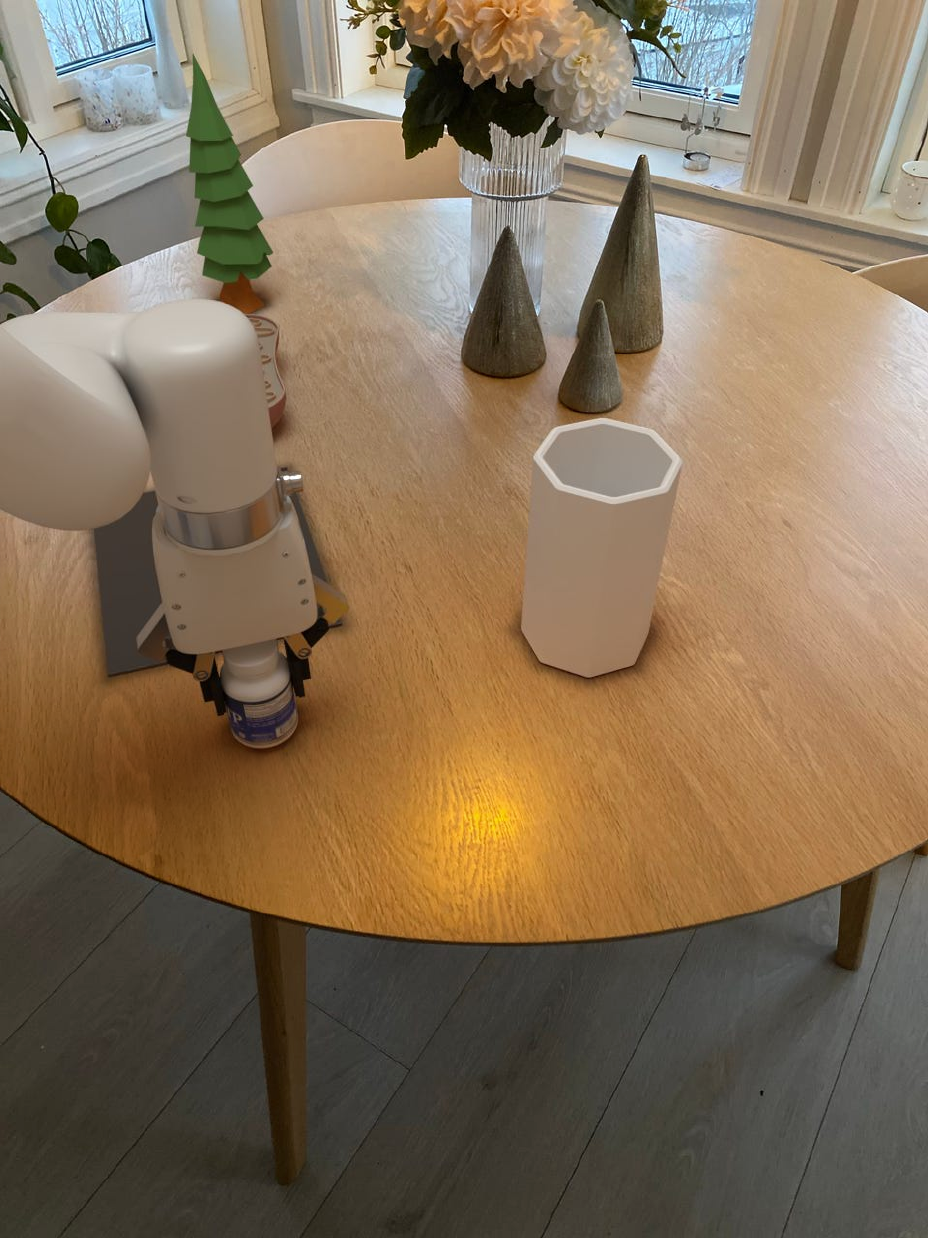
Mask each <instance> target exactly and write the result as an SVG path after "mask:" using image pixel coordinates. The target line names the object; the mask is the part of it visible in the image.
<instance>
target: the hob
mask: <svg viewBox="0 0 928 1238" xmlns="http://www.w3.org/2000/svg"><path fill="white" fill-rule="evenodd" d="M280 468H281V471H288V473H289V472H290V471H289V469H288V467H287V466H285V467H280ZM289 497H290V499H291V501H292V504H293V506H294V508H295V511H296V514H297V517H298V520H299V524H300V528H301V531H302V535H303V538H304V542H305V546H306V551H307V555H308V559H309V564H310V569H311V573H312V574H313V575H315V576H316V577H318V578H320V579H321V580H323V581H324V582H326V583H327V584H329V581H328V579H327V576H326V573H325V570H324V568H323V564H322V562H321V559H320V555H319V553H318V550H317V548H316V545H315V542H314V539H313V536H312V534H311V531H310V527H309V525H308V523H307V520H306V517H305V513H304V510H303V508H302V506H301V502H300V500H299V497H298V494H297V492H295V493H292V495H290V496H289ZM159 511H160V509H159V505H158V501H157V497H156V493H155V490H150V491H146V492H145V491H144V492H143V494H142V496H141V498H140V499H139V501H138V502H137V503H136V504H135V506H134V507H133V508H132V509H131V510H130V511H129V512H128V513H126V514H125V515H124V516H123V517H121V518H120V519H118V520H116V521H114V522H112V523H110V524H108V525H105V526H102V527H98V528H95V529H93V537H94V549H95V557H96V568H97V578H98V589H99V590H98V591H99V600H100V601H99V602H100V610H101V611H100V612H101V621H102V631H103V640H104V641H103V643H104V652H105V660H106V661H105V662H106V671H107V677H114V676H118V675H123V674H128V673H132V672H137V671H140V670H141V671H142V670H146V669H149V668H155V667H159V666H163V665H169V664H168V663H167V661H165V660H161V661H160V660H157V659H154V658H151V657H148V656H144V655H141V654H139V652H138V647H137V639H136V638H137V636H138V634H139V633H140V632H141V630H142V629H143V628H144V626H145V625H146V624H147V622H148V621H149V620H150V618H151V617H152V615H153V614H154V613H155V611H156V610H157V609H158V607H159V606H160V605H161V603H162V598H161V593H160V588H159V583H158V577H157V572H156V567H155V561H154V554H153V542H152V522H153V518H154V516H155V515H156V514H157V512H159ZM318 606H320V605H319V604H317V608H319V607H318ZM341 618H342V617H341ZM341 618H340V619H338V620H337V621H336V622H335V623H334V624H333V623H332V624H331V625H330V626H329V629H331V628H335V627H339V626H343V621H342V619H341ZM167 638H168V639H172V638H171V635H170V633H169V634H168V636H167ZM282 639H285V638H284V637H280V638H276V640H277V641H278V640H282ZM218 653H222V650H219V651H215V654H218Z"/></svg>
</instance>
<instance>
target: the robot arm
mask: <svg viewBox="0 0 928 1238" xmlns="http://www.w3.org/2000/svg"><path fill="white" fill-rule="evenodd" d="M281 468H282V467H281V466H277V457H276V452H275V446H274V437H273V431H272V428H271V424H270V417H269V409H268V402H267V395H266V388H265V381H264V374H263V367H262V359H261V352H260V346H259V341H258V336H257V333H256V331H255V328H254V327H253V325H252V324H251V322H250V320H249V319H248V318H247V317H246V316H245V315H244V314H243V313H242V312H241V311H240V310H238V309H236V308H234V307H232V306H230V305H228V304H225V303H223V302H219V300H214V299H206V298H184V299H176V300H171V301H166V302H163V303H158V304H156V305H153V306H151V307H148V308H147V309H145V310H141V311H125V312H122V311H121V312H120V311H119V312H114V311H113V312H112V311H111V312H110V311H109V312H90V311H89V312H83V311H49V312H48V311H47V312H35V313H28V314H23V315H19V316H16V317H13V318H10V319H8V320H6V321H4V322H2V323H1V324H0V510H1V511H3V512H5V513H7V514H8V515H10V516H13V517H15V518H17V519H20V520H22V521H24V522H27V523H31V524H34V525H38V526H40V527H43V528H48V529H54V530H59V531H71V532H72V531H73V532H81V531H89V530H94V529H95V528H98V527H102V526H105V525H108V524H110V523H112V522H114V521H116V520H118V519H120V518H121V517H123V516H124V515H125V514H126V513H128V512H129V511H130V510H131V509H132V508H133V507H134V506H135V504H136V503H137V502H138V501H139V499H140V498H141V496H142V494H143V493H145V491H146V488H147V486H148V483H149V478H150V476H151V479H152V484H153V486H154V491H155V493H156V497H157V501H158V505H159V509H160V511H159V512H157V514H156V515H155V516H154V518H153V522H152V542H153V554H154V561H155V567H156V572H157V577H158V583H159V588H160V593H161V598H162V603H161V605H160V606H159V607H158V609H157V610H156V611H155V613H154V614H153V615H152V617H151V618H150V620H149V621H148V622H147V624H146V625H145V626H144V628H143V629H142V630H141V632H140V633H139V634H138V636H137V638H136V639H137V647H138V652H139V654H141V655H144V656H148V657H151V658H154V659H157V660H160V661H161V660H165V661H167V663H168V664H167V665H169V666H171V667H173V668H176V669H178V670H181V671H183V672H186V673H189V674H191V675H192V678H193V679H194V681H197V682H199V687H200V691H201V694H202V698H203V701H204V703H205V704H206V703H210V702H213V703H214V708H215V711H216V716H217V717H222V716H225V714H228V713H227V709H226V705H225V701H224V696H223V692H222V688H221V684H220V672H219V669H218V665H217V661H216V656H215V655H216V653H215V651H219V650H225V649H230V648H234V647H239V646H244V645H249V644H253V643H258V642H263V641H267V640H272V639H276V638H280V637H284V638H283V645H284V651H285V657H286V658H287V660H288V662H289V665H290V670H291V677H292V684H293V691H294V697H295V698H297V697H298V699H301V698H305V697H306V691H305V690H306V689H305V684H304V681H307V680H311V679H312V674H311V666H310V657H311V656H312V655H313V649H312V648H313V647H315V645H316V644H317V643H318V642H319V641H321V639H322V638H323V637H324V636H325V635H326V634H327V633H328V631H329V630H330V628H329V626H330V625H331V624H332V623H333V624H334V623H335V622H336V621H337V620H338V619H340V618H342V617H343V616H344V615H346V613H347V612H349V610H350V604H349V602H348V599H347V597H346V595H345V593H343V592H342V591H340V590H339V589H337V588H335V587H334V586H332V585H331V584H329V583H328V584H327V583H326V582H324V581H323V580H321V579H320V578H318V577H316V576H315V575H313V574H312V573H311V569H310V564H309V559H308V555H307V551H306V546H305V542H304V538H303V535H302V531H301V528H300V524H299V520H298V517H297V514H296V511H295V508H294V506H293V504H292V501H291V499H290V497H289V496H290V495H292V493H295V492H296V493H300V492H304V484H303V479H302V475H301V471H300V470H295V471H289V470H288V471H289V473H288V471H281ZM317 604H319V605H320V606H318V607H319V608H317ZM169 633H170V635H171V638H172V639H168V638H167V636H168V634H169Z"/></svg>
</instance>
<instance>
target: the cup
mask: <svg viewBox="0 0 928 1238" xmlns="http://www.w3.org/2000/svg"><path fill="white" fill-rule="evenodd" d="M682 468H683V459H682V458H681V457H680V456H679V455H678V453H676V452H675V450H674V449H673V448H672V447H671V446H670V445H669V443H667V442H666V441H665V440H664V439H663V438H662V436H661V435H660V434H659V433H657V431H655V430H654V429H652V428H649V427H644V426H640V425H637V424H631V423H628V422H623V421H619V420H615V419H611V418H607V417H599V418H593V419H589V420H584V421H579V422H574V423H569V424H563V425H560V426H556V427H554V428H552V429H551V430H550V431H549V433H548V434H547V436H546V437H545V438H544V440H543V441H542V442H541V444H540V446H539V447H538V449H537V450H536V451H535V453H534V454H533V456H532V469H531V482H530V483H531V484H530V497H529V509H528V510H529V512H528V513H529V514H528V525H527V539H526V550H525V551H526V552H525V564H524V565H525V567H524V578H523V579H524V580H523V594H522V606H521V607H522V608H521V622H520V631H521V633H522V634H523V636H524V637H525V640H526V641H527V643H528V644H529V646H530V648H531V650H532V651H533V653H534V654H535V656H536V657H537V659H538V661H539V662H540V663H542V664H545V665H548V666H551V667H554V668H556V669H559V670H563V671H565V672H569V673H571V674H572V673H573V674H575V675H579V676H582V677H584V678H593V677H596V676H600V675H604V674H608V673H611V672H614V671H617V670H618V671H619V670H622V669H626V668H628V667H632V666H634V665H635V664H636V662H637V661H638V658H639V655H640V653H641V651H642V649H643V647H644V644H645V642H646V640H647V637H648V635H649V632H650V628H651V622H652V616H653V611H654V607H655V602H656V598H657V593H658V587H659V582H660V578H661V573H662V569H663V568H662V567H663V563H664V558H665V557H664V556H665V552H666V548H667V547H666V546H667V543H668V537H669V534H670V533H669V532H670V527H671V523H672V519H673V513H674V508H675V503H676V499H677V494H678V489H679V483H680V478H681V473H682Z"/></svg>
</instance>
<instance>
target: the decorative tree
mask: <svg viewBox="0 0 928 1238" xmlns="http://www.w3.org/2000/svg"><path fill="white" fill-rule="evenodd" d="M203 71H204V70H202V67H201V65H200V64H199V62H198V60H197V58H196V57H195V54H194V53H193V52H192V89H191V105H190V106H191V107H190V112H189V118H188V122H187V127H186V134H185V137H186V138H190V139H189V142H190V143H189V165H188V167H189V168H188V172H189V173H191V174H194V173H195V176H194V177H195V178H194V199H198V200H199V206H198V210H197V215H196V219H195V224H194V227H195V228H197V227H198V228H199V227H202V231H201V234H200V238H199V242H198V247H197V251H196V254H198V255H199V256H202V257H204V260H203V266H202V273H201V274H202V275H201V276H202V277H203V276H204V277H206V278H208V279H211V280H214V281H219V282H220V283H222V286H221V290H220V293H219V298H218V301H219V302H223V303H225V304H228V305H230V306H232V307H234V308H236V309H238V310H240V311H241V312H242V313H243V314H253V313H254V312H255V311H258V310H259V309H262V308H263V307H266V304H265V303H264V302H263V301H262V299H261V298H260V297H259V296H258V295H257V293H256V292H255V291H254V289H253V286H252V284H251V281H252V280H258V279H259V278H260V277H261V276H262V275H264V274H265V273H266V272H267V271H268V270H269V269H271V268H272V263H271V262H270V259H269V257H270V256H271V255H273V254H274V251H273V249H272V247H271V246H270V244H269V242H268V241H267V239H266V238H265V235H264V233H263V231H261V229H260V227H259V225H258V224H259V223H260V222H262V221H263V220H264V216H263V214H262V213H261V211H260V209H259V207H258V206H257V204H256V202H255V201H254V199H253V197H252V195H251V193H250V191H249V190H250V189H252V188H253V187H254V184H253V183H252V181H251V179H250V177H249V176H248V174H247V172H246V170H245V168H244V167H243V165H242V163H241V161H240V157H241V156H242V153H241V151H240V150H239V148H238V145H237V144H236V142H235V141H234V138H233V137H234V135H233V133H232V131H231V128H230V126H229V125H228V123H227V121H226V120H225V117H224V116H223V114H222V111H221V110H220V108H219V106H218V104H217V102H216V100H215V96H214V94H213V92H212V90H211V87H210V85H209V82H208V79H207V77H206V75H205V73H204V72H203ZM268 256H269V257H268Z"/></svg>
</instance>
